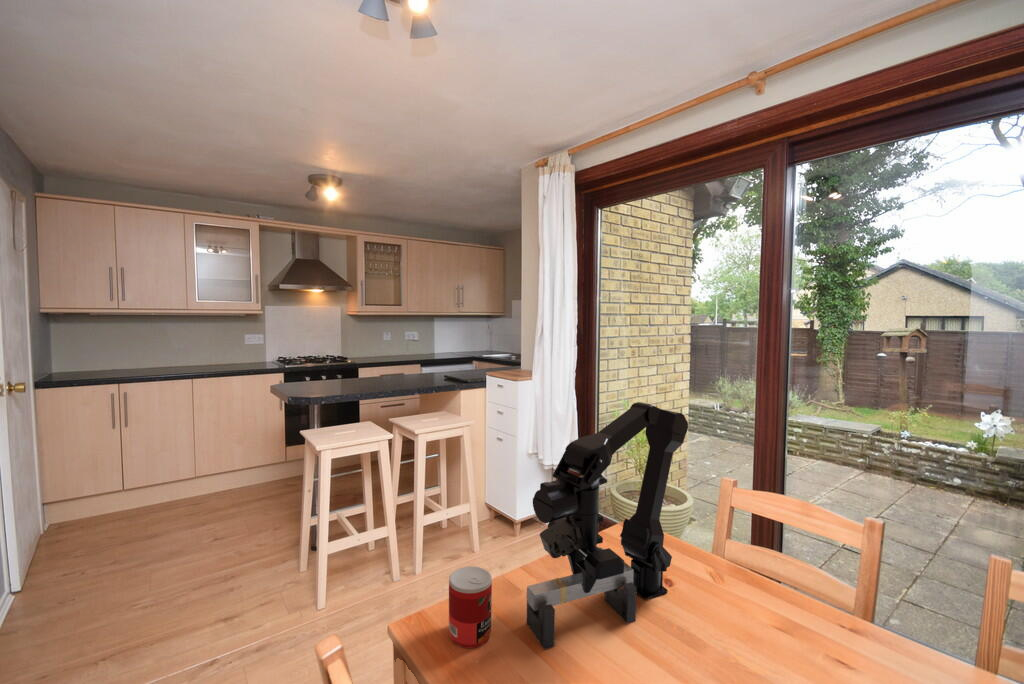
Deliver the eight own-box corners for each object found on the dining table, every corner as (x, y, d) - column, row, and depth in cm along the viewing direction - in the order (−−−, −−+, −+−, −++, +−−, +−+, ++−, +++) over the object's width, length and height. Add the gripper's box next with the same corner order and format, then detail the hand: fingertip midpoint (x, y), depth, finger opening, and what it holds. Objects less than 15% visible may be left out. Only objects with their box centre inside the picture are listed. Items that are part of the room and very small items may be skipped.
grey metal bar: (623, 576, 93) (624, 561, 93) (633, 584, 91) (633, 569, 90) (527, 601, 85) (527, 585, 85) (534, 611, 82) (534, 595, 82)
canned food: (485, 652, 80) (485, 592, 79) (442, 645, 81) (442, 586, 81) (495, 623, 87) (496, 568, 87) (456, 617, 89) (456, 563, 88)
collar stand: (612, 598, 95) (613, 566, 95) (635, 621, 88) (636, 586, 88) (526, 623, 88) (526, 588, 87) (544, 649, 81) (544, 611, 80)
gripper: (525, 497, 92) (524, 571, 93) (572, 538, 75) (570, 629, 76) (572, 489, 96) (571, 560, 97) (627, 527, 79) (625, 612, 80)
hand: (582, 587), depth 88 cm, fingers closed on grey metal bar, 3 cm apart
